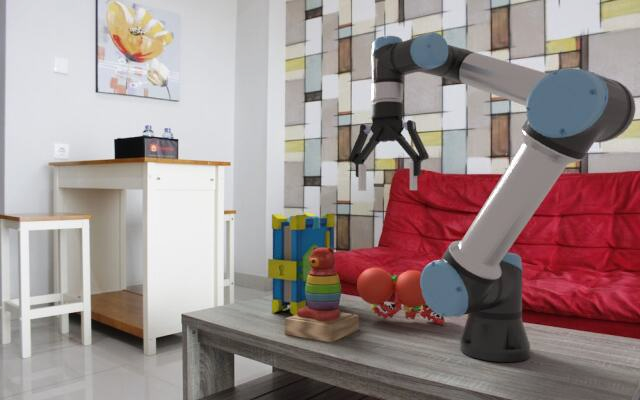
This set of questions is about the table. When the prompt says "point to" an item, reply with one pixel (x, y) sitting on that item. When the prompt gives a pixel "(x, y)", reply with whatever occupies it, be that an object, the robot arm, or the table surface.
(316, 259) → the stacking bear
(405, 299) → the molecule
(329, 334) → the oak stand
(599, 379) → the table surface
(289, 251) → the decorative book
